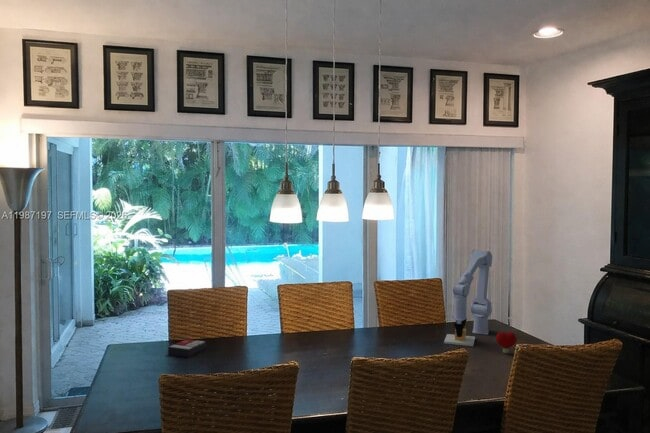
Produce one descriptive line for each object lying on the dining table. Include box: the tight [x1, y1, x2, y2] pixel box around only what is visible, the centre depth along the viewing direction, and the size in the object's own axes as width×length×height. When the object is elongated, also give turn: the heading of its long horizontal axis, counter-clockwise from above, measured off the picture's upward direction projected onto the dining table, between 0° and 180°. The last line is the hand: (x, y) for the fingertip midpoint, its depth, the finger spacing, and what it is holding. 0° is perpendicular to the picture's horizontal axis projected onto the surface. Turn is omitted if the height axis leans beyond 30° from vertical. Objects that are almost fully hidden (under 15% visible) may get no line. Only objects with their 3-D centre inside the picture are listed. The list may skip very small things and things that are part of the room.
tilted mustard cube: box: [454, 327, 467, 341], centre depth 268 cm, size 5×5×5 cm
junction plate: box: [443, 333, 476, 347], centre depth 268 cm, size 14×14×4 cm
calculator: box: [167, 339, 207, 358], centre depth 248 cm, size 11×4×15 cm
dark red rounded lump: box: [495, 331, 518, 355], centre depth 248 cm, size 9×7×10 cm
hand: (460, 334), depth 268 cm, fingers open, 7 cm apart
